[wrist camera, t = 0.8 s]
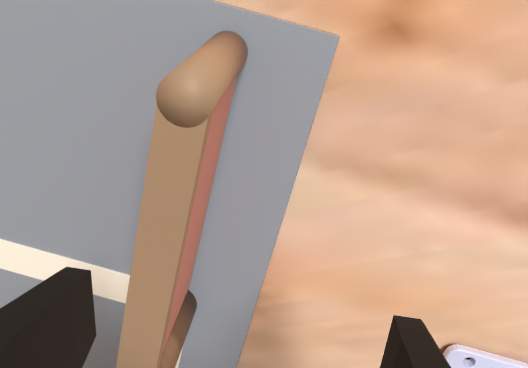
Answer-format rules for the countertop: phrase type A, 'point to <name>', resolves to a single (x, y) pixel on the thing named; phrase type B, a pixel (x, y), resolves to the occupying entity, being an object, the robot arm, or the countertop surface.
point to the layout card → (145, 152)
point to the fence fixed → (179, 332)
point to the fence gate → (177, 193)
